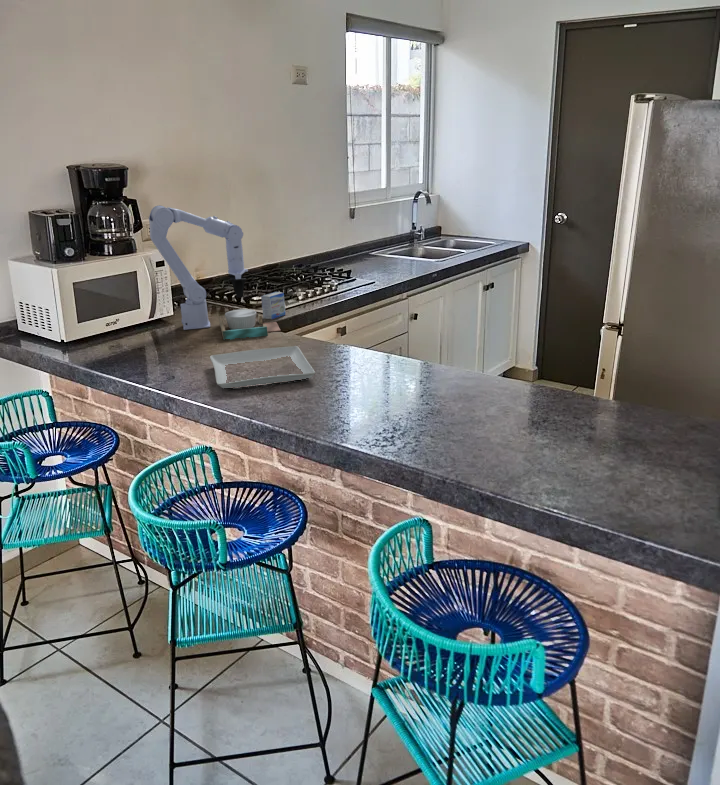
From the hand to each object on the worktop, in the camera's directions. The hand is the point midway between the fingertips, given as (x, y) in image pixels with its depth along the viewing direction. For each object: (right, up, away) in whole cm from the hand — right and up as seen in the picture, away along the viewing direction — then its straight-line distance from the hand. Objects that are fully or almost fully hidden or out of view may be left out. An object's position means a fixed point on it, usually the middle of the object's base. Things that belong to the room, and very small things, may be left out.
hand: (238, 295), depth 261 cm
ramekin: (+2, -13, -6) cm, 14 cm away
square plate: (+16, -31, -55) cm, 65 cm away
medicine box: (+12, -8, +6) cm, 16 cm away
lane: (+6, -14, -10) cm, 18 cm away
